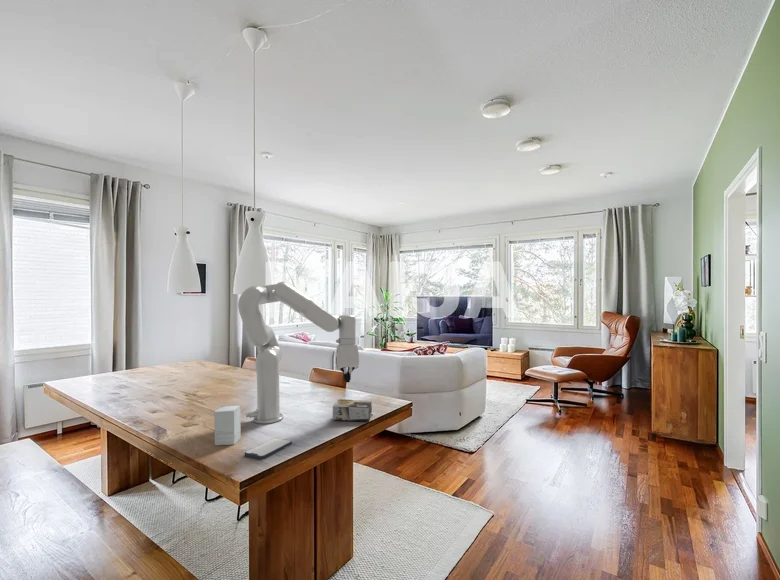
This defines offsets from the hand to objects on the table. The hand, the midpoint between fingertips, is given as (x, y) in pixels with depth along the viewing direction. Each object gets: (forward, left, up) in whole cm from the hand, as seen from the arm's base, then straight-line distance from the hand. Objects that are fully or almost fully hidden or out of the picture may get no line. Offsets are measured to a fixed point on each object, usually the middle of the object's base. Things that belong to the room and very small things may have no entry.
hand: (347, 381), depth 174 cm
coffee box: (-7, -2, -11) cm, 13 cm away
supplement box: (-51, -10, -15) cm, 54 cm away
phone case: (-37, -25, -16) cm, 48 cm away
